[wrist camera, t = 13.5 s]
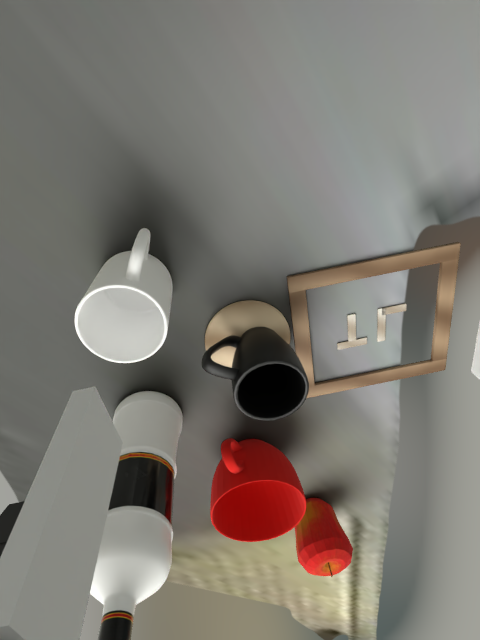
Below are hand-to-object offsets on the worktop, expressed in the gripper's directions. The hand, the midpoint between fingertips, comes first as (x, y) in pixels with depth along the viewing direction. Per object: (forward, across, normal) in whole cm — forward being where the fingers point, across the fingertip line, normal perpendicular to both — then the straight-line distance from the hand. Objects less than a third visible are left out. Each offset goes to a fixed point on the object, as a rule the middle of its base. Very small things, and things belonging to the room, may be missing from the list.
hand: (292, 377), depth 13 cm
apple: (+30, +4, -55) cm, 63 cm away
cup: (+31, -11, -6) cm, 34 cm away
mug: (+30, -1, -18) cm, 35 cm away
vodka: (+31, -16, -27) cm, 44 cm away
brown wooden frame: (+31, +16, -20) cm, 40 cm away
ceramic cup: (+30, -5, -37) cm, 48 cm away
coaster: (+31, -1, -18) cm, 36 cm away
